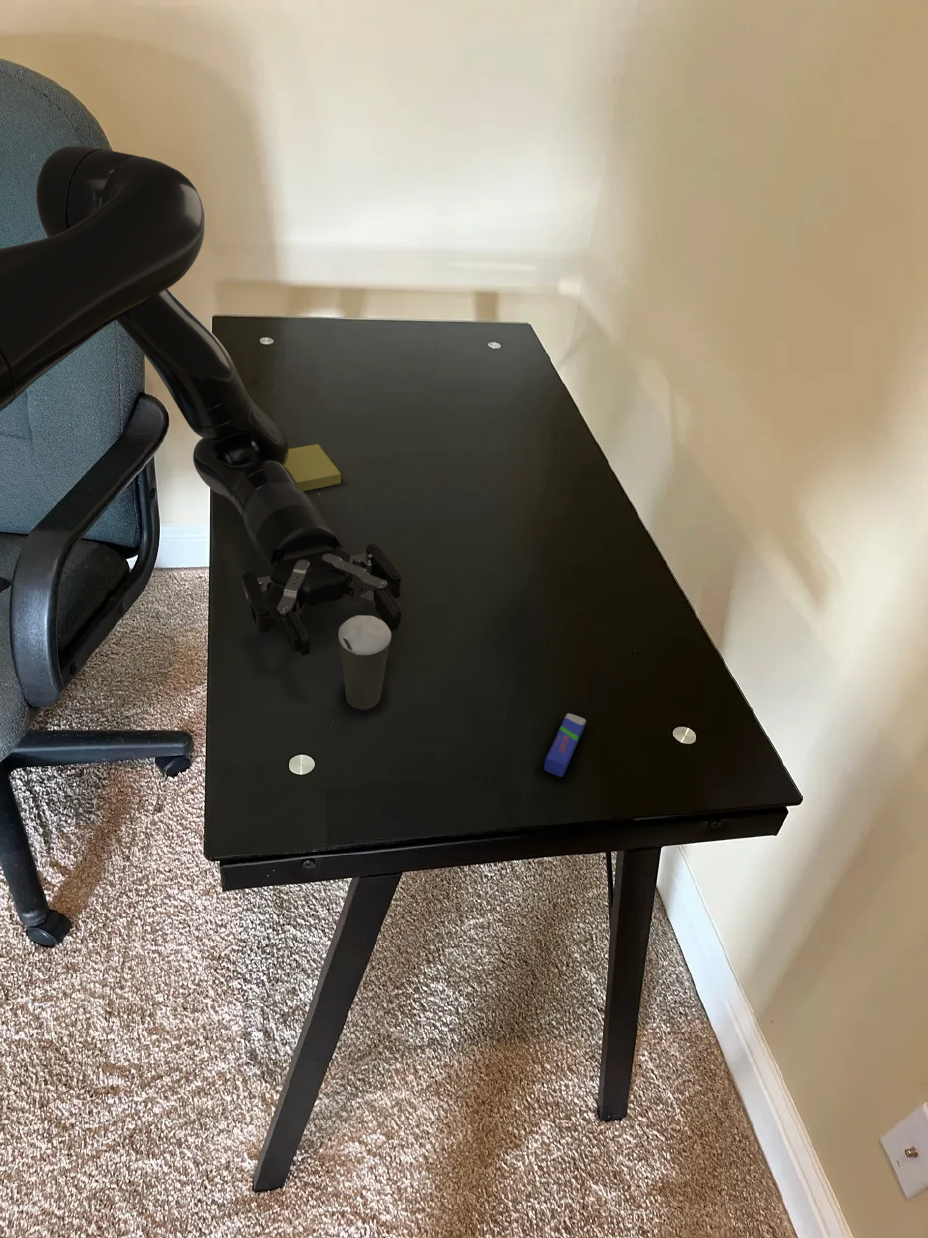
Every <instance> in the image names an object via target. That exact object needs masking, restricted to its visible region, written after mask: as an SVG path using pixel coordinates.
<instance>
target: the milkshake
mask: <svg viewBox="0 0 928 1238" xmlns="http://www.w3.org/2000/svg"><path fill="white" fill-rule="evenodd" d="M338 629H339V630H338V643H339V650H340V656H341V664H342V673H343V681H344V691H345V701H346V703H347V704H348V705H349V706H351V707H352V708H353V709H356V710H361V711H366V710H370V709H373V708H375V707H376V706H377V705H378V704H379V703H380V701H381V698H382V693H383V686H384V680H385V673H386V666H387V660H388V655H389V650H390V645H391V640H392V631H390V629H389V628H388V626H387V625H386V623H385V622H384V621H383V620H382V619H381V618H378V617H376V616H373V615H359V614H357V615H354V616H352V617H350V618H348V619H347V620H345V621H344V622H343V623H342V624H341V625H340V626H339V628H338Z"/></svg>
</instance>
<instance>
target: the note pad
mask: <svg viewBox="0 0 928 1238" xmlns="http://www.w3.org/2000/svg"><path fill="white" fill-rule="evenodd" d="M284 466H285V467H286V468H287V469H288V470H289V471H290V473H291V474H292V475H293V477H294V478H295V480H296V482H297V483H298V485H299V486H300V488H301V489H302V491H303V492H306V491H307V492H308V491H312V490H316V489H320V488H326V487H331V486H336V485H340V484H342V482H341V481H342V474H341V472H340V470H339V469H338V468H337V466H336V465H335V464H334V463H333V462H332V460H331V459H330V458H329V456H328V455H327V453H325V451H324V450H323V448H322V447H321V446H320V444H318V443H315V444H309V445H303V446H299V447H293V448H289V456H288V460H287V462H286V464H285V465H284Z"/></svg>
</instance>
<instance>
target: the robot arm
mask: <svg viewBox="0 0 928 1238" xmlns="http://www.w3.org/2000/svg"><path fill="white" fill-rule="evenodd" d="M35 190H36V191H35V192H36V193H35V194H36V195H35V196H36V197H35V198H36V205H37V206H36V207H37V212H38V217H39V221H40V224H41V226H42V228H43V230H44V233H45V235H46V237H45V238H42V239H38V240H35V241H30V242H25V243H21V244H18V245H12V246H7V247H3V248H2V247H1V248H0V413H1V412H3V411H4V410H5V409H7V408H8V406H10V405H12V403H13V402H14V401H16V400H17V399H18V398H19V397H20V396H21V395H22V394H23V393H24V392H25V391H26V390H27V389H28V388H30V387H31V386H32V385H33V384H34V383H35V382H37V381H38V380H39V379H40V378H42V377H43V376H44V375H45V374H46V373H48V372H49V371H51V370H52V369H53V368H55V367H56V366H57V365H59V364H60V363H61V362H62V361H64V360H65V359H66V358H68V357H69V356H71V354H72V353H74V352H75V351H76V350H78V349H79V348H80V347H82V346H84V345H85V343H86V342H88V341H89V340H91V338H93V337H94V336H95V335H97V334H99V332H101V331H103V330H104V329H105V328H107V327H108V326H110V325H111V324H113V323H115V322H117V323H118V325H119V326H120V327H121V328H122V330H124V331H125V333H126V334H127V335H128V336H129V338H130V340H132V341H133V342H134V344H135V345H136V346H137V348H138V349H139V350H140V351H141V353H142V354H143V355H144V356H145V358H146V359H147V361H149V363H150V364H151V366H152V367H153V369H154V371H155V372H156V373H157V375H158V376H159V378H160V380H161V381H162V383H163V384H164V386H165V387H166V389H167V391H168V392H169V394H170V396H171V398H172V400H173V401H174V403H175V404H176V406H177V408H178V409H179V411H180V413H181V414H182V416H183V418H184V420H185V421H186V423H187V424H188V426H189V428H190V429H191V430H192V431H193V433H195V434H196V435H197V436H199V437H201V439H199V441H198V442H197V443H196V444H195V446H194V449H193V453H192V460H193V465H194V468H195V470H196V472H197V474H198V476H199V477H200V479H201V480H202V481H203V482H204V484H205V485H206V486H208V488H209V489H210V490H212V491H213V492H214V493H216V494H217V495H218V496H219V497H221V498H222V499H224V500H226V501H227V502H229V503H230V504H231V505H232V506H233V507H234V508H235V509H236V511H237V513H238V515H239V516H240V519H241V521H242V522H243V524H244V526H245V528H246V532H247V534H248V537H249V540H250V542H251V545H252V547H253V549H254V551H256V552H257V554H258V556H259V558H260V560H261V561H262V563H263V565H264V567H265V568H266V571H267V572H268V574H269V575H266V576H259V577H257V576H256V574H255V573H254V572H251V571H248V572H245V573H243V574H242V576H241V579H242V580H241V581H242V590H243V598H244V600H245V602H246V605H247V609H248V611H249V613H250V615H251V618H252V620H253V623H254V626H255V628H256V631H257V632H258V633H260V634H261V633H262V634H265V633H268V632H270V631H271V630H272V629H275V630H278V631H280V632H281V634H282V635H283V637H284V639H285V641H286V642H287V645H288V646H289V648H290V650H292V651H293V652H294V653H297V652H298V653H299V654H300V655H301V656H302V657H303V656H307V655H309V654H311V640H310V636H309V634H308V632H307V630H306V629H305V627H304V625H303V624H302V622H301V620H300V616H301V614H302V612H303V610H304V608H305V605H310V607H314V606H318V605H321V604H323V603H325V602H330V601H331V602H332V601H338V600H342V599H347V600H350V601H352V602H355V603H358V604H360V603H361V602H364V603H367V604H370V605H373V606H374V609H375V611H376V612H377V614H378V615H379V617H380V619H381V620H382V621H383V622H385V623H386V625H387V626H388V628H389V629H390V631H391V632H394V631H396V630H398V629H399V625H400V624H401V621H402V607H401V605H400V604H399V602H397V600H396V599H398V598H400V597H401V591H402V590H401V586H402V573H401V571H400V570H399V569H397V567H396V566H395V565H394V563H393V562H392V561H391V560H390V559H389V557H388V556H387V555H386V554H385V553H384V551H383V550H382V549H381V548H380V547H379V545H377V544H375V543H369V544H368V545H367V546H366V548H365V549H366V550H365V551H366V552H362V553H359V554H355V555H353V554H352V553H350V552H348V551H346V550H345V549H344V548H343V546H342V544H341V542H340V540H339V539H338V536H337V535H336V534H335V532H334V531H333V529H332V527H331V526H330V524H329V523H328V522H327V520H326V519H325V517H324V516H323V514H322V513H321V512H320V510H319V508H318V506H317V505H316V504H315V503H314V501H313V500H312V499H311V497H309V496H308V495H307V494H306V493H305V491H302V489H301V488H300V486H299V485H298V483H297V482H296V480H295V478H294V477H293V475H292V474H291V473H290V471H289V470H288V469H287V468H286V467H285V466H284V465H285V464H286V462H287V460H288V456H289V449H290V445H289V442H288V440H287V438H286V436H285V433H284V431H282V429H281V428H280V426H279V425H278V424H277V423H276V422H275V421H274V420H273V419H272V418H271V417H270V416H269V415H268V414H267V413H266V412H264V411H263V410H262V409H261V408H260V407H259V406H258V405H257V404H256V403H255V401H253V399H252V397H251V396H250V394H249V393H248V391H247V389H246V387H245V384H244V383H243V380H242V378H241V375H240V374H239V372H238V369H237V367H236V365H235V362H234V361H233V359H232V357H231V356H230V354H229V353H228V351H227V350H226V348H225V346H224V345H223V344H222V343H221V342H220V340H219V339H218V338H217V337H216V336H215V334H214V333H212V332H211V330H210V329H209V328H208V327H207V326H206V325H205V324H204V323H203V322H202V321H201V320H200V319H199V318H198V317H197V316H196V315H195V314H194V313H193V312H192V311H190V309H189V308H187V307H186V306H185V305H184V304H183V303H182V302H181V301H180V300H179V299H178V298H177V296H176V295H175V294H174V293H173V292H172V291H171V290H170V289H169V288H171V287H173V286H174V285H175V284H176V283H178V282H179V281H180V280H181V279H182V278H183V277H184V276H185V275H186V274H187V273H188V271H189V270H190V269H191V267H192V266H193V265H194V263H195V261H196V260H197V258H198V256H199V254H200V252H201V250H202V246H203V243H204V239H205V235H206V228H207V216H206V208H205V205H204V203H203V202H204V201H203V199H202V197H201V194H200V193H199V191H198V188H197V187H196V185H194V183H192V181H191V180H190V179H189V178H188V176H186V174H184V173H183V172H181V171H180V170H178V169H177V168H175V167H173V166H170V165H168V164H166V163H164V162H162V161H159V160H157V159H154V158H149V157H145V156H139V155H134V154H130V153H125V152H120V151H116V150H111V149H106V148H101V147H95V146H87V145H69V146H63V147H61V148H59V149H57V150H55V151H54V152H53V153H51V154H50V155H49V156H48V157H47V158H46V160H45V162H44V163H43V165H42V166H41V169H40V172H39V175H38V177H37V183H36V189H35ZM352 581H353V584H354V585H353V586H351V584H352ZM370 589H372V590H373V591H372V590H370ZM270 590H273V592H275V593H276V594H279V595H280V596H281V599H280V601H279V603H278V604H277V607H269V604H268V601H267V600H266V599H267V597H268V596H269V591H270Z"/></svg>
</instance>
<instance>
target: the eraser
mask: <svg viewBox="0 0 928 1238" xmlns="http://www.w3.org/2000/svg"><path fill="white" fill-rule="evenodd" d="M586 723H587V720H586V719H585V718H583V717H581V716H578V715H575V714H574V713H571V712H568V713H566V714H565V716H564V718H563V721H562V723H561V724H560V727H559V729H558V731H557V734H556V736H555V737H554V740H553V742H552V745H551V747H550V749H549V751H548V753H547V755H546V757H545V760H544V765H543V770H544V771H545V772H547V773H549V774H552V775H553V776H556V777H559V778H563V777H564V775H565V773H566V771H567V769H568V767H569V765H570V762H571V759H572V758H573V755H574V753H575V750H576V748H577V745H578V743H579V741H580V738H581V736H582V734H583V732H584V729H585V726H586Z"/></svg>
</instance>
